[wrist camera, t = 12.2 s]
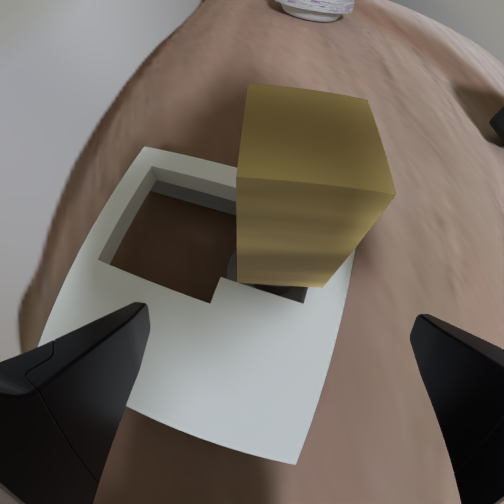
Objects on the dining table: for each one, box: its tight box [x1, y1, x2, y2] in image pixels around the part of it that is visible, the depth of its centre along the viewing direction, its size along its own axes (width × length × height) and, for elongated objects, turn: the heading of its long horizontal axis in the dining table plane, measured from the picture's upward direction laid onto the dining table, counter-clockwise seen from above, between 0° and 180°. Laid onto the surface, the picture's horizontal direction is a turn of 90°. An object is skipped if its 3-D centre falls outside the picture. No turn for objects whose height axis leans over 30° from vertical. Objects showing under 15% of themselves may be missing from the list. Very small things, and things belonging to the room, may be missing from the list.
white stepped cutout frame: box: [38, 146, 356, 465], centre depth 17 cm, size 15×15×4 cm
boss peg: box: [227, 84, 396, 302], centre depth 13 cm, size 6×6×13 cm
